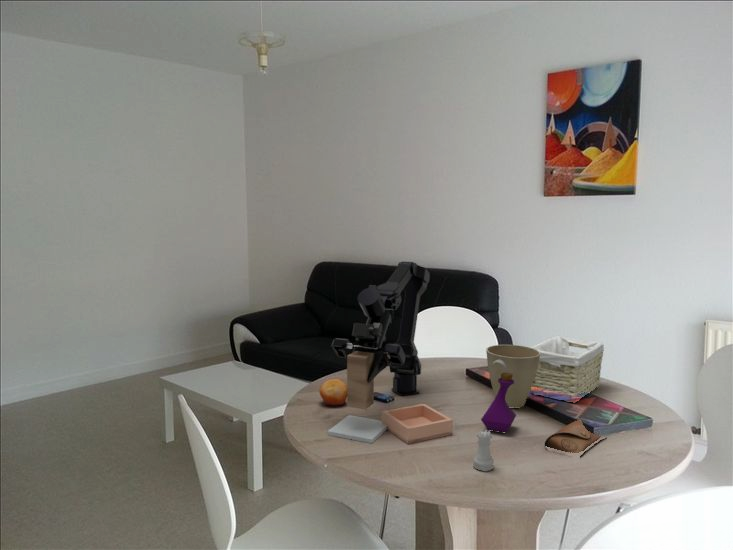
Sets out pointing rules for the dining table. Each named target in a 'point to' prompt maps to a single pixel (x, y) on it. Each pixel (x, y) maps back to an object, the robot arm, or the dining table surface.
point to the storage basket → (568, 366)
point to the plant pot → (513, 370)
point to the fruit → (333, 392)
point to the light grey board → (358, 429)
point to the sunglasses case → (572, 438)
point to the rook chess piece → (483, 452)
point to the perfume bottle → (500, 406)
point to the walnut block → (359, 380)
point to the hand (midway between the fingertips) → (358, 380)
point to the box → (417, 423)
